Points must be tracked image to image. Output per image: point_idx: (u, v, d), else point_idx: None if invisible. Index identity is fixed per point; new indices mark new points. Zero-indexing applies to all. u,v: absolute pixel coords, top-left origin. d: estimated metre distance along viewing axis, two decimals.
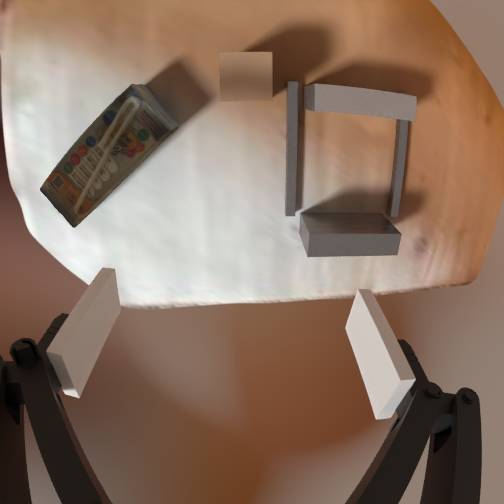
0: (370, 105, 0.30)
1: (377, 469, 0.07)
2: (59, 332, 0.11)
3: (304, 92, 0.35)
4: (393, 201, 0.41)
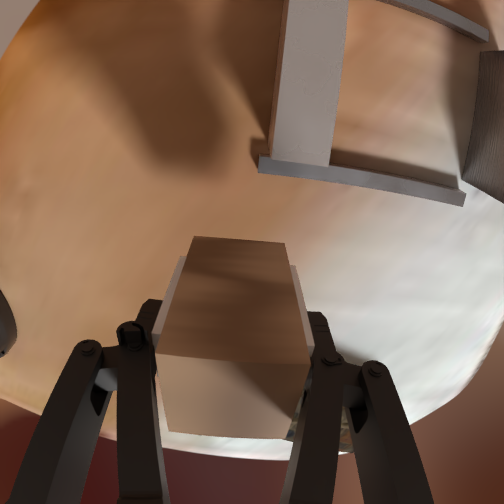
0: (321, 47, 0.13)
1: (299, 451, 0.08)
2: (159, 315, 0.13)
3: None
4: (468, 30, 0.16)
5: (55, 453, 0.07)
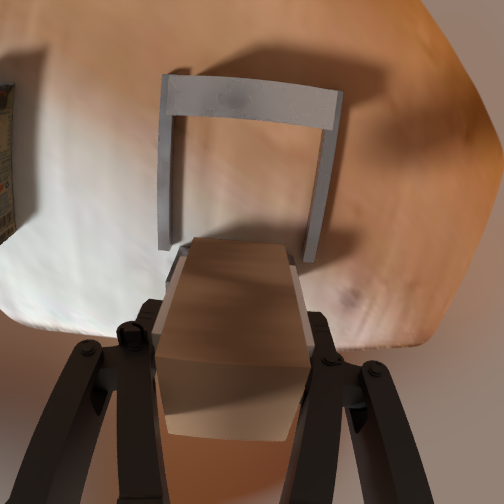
0: (255, 104, 0.21)
1: (299, 451, 0.08)
2: (159, 315, 0.13)
3: None
4: (307, 241, 0.32)
5: (55, 453, 0.07)
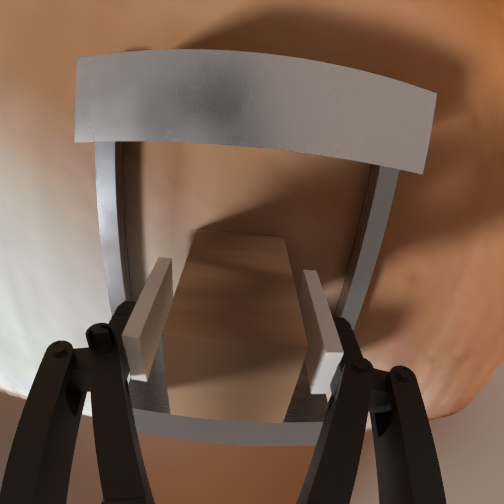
0: (263, 111, 0.09)
1: (322, 454, 0.08)
2: (131, 317, 0.13)
3: None
4: None
5: (37, 454, 0.06)
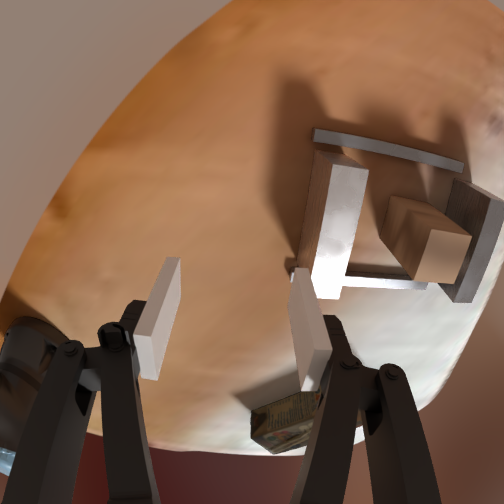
0: (341, 235, 0.26)
1: (313, 453, 0.08)
2: (142, 316, 0.13)
3: None
4: (447, 168, 0.28)
5: (44, 454, 0.06)
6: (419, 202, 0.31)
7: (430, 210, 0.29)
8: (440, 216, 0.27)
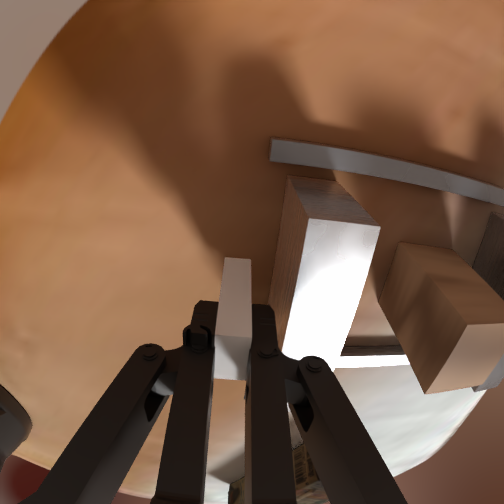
0: (323, 336, 0.14)
1: (251, 450, 0.08)
2: (219, 316, 0.13)
3: None
4: (485, 199, 0.17)
5: (96, 456, 0.07)
6: (441, 251, 0.20)
7: (459, 268, 0.17)
8: (474, 281, 0.16)
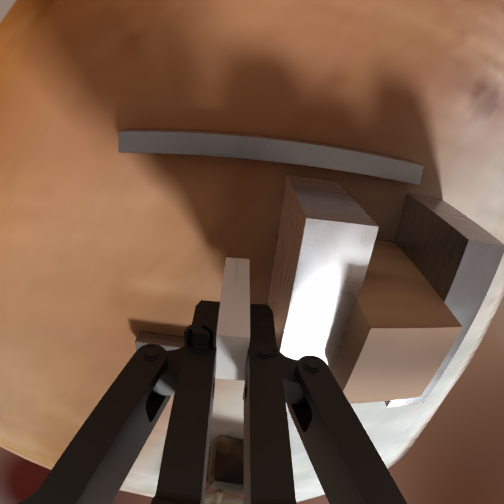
0: (321, 337, 0.14)
1: (250, 450, 0.08)
2: (220, 316, 0.13)
3: None
4: (387, 176, 0.17)
5: (97, 456, 0.07)
6: (378, 244, 0.19)
7: (392, 263, 0.17)
8: (408, 277, 0.16)
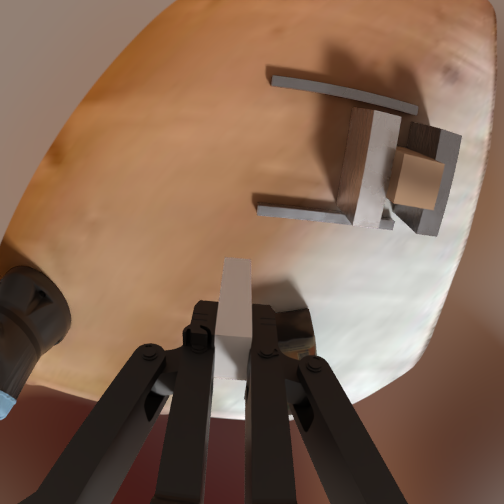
0: (381, 169, 0.29)
1: (251, 450, 0.08)
2: (219, 316, 0.13)
3: None
4: (400, 109, 0.31)
5: (96, 456, 0.07)
6: (398, 146, 0.34)
7: (407, 150, 0.32)
8: (416, 153, 0.30)
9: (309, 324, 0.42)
